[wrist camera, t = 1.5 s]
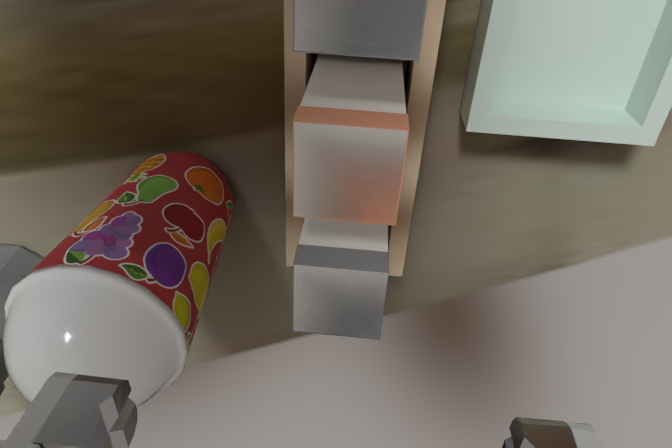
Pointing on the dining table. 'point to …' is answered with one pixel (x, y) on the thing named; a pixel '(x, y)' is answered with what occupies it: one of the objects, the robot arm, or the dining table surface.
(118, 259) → the smoothie
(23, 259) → the coffeepot
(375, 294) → the block
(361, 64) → the block
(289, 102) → the socket strip
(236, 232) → the dining table surface
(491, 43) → the tray
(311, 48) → the block
